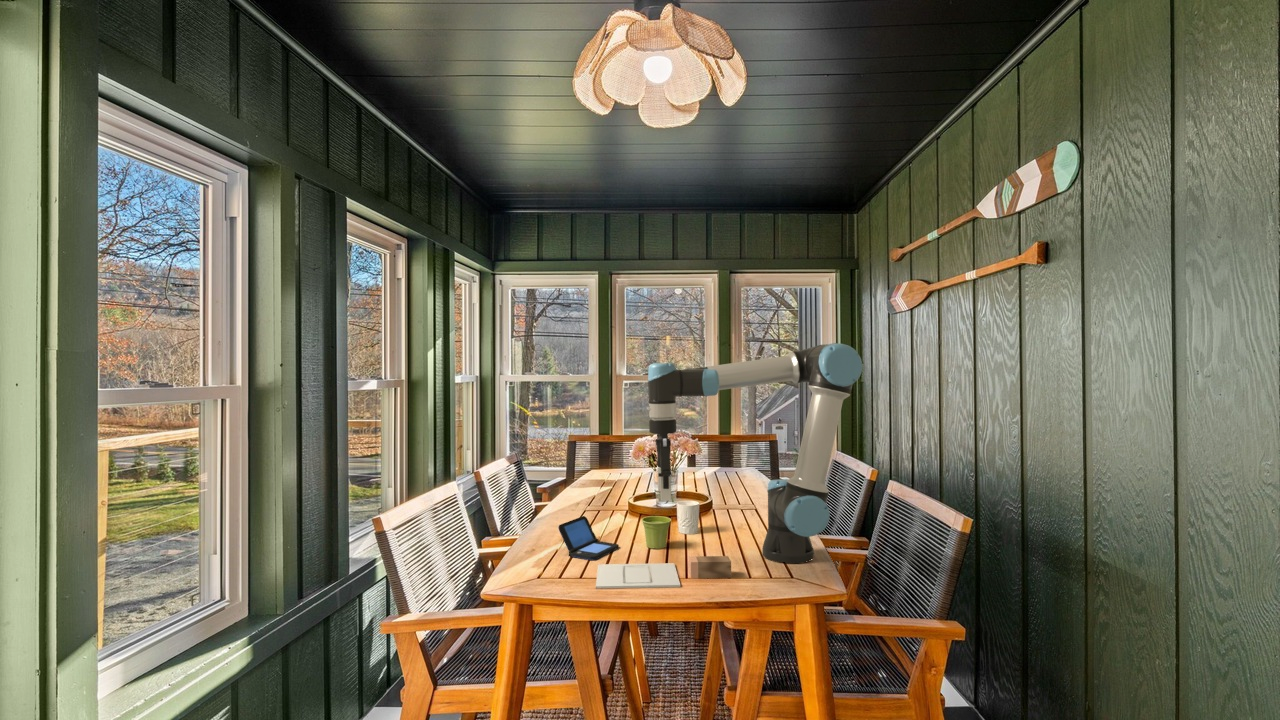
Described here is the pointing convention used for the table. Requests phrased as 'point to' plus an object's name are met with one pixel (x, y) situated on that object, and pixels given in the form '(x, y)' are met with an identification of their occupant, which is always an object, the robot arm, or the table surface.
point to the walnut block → (709, 567)
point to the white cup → (688, 517)
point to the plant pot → (656, 531)
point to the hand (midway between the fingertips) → (664, 495)
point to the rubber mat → (637, 576)
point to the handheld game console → (584, 540)
